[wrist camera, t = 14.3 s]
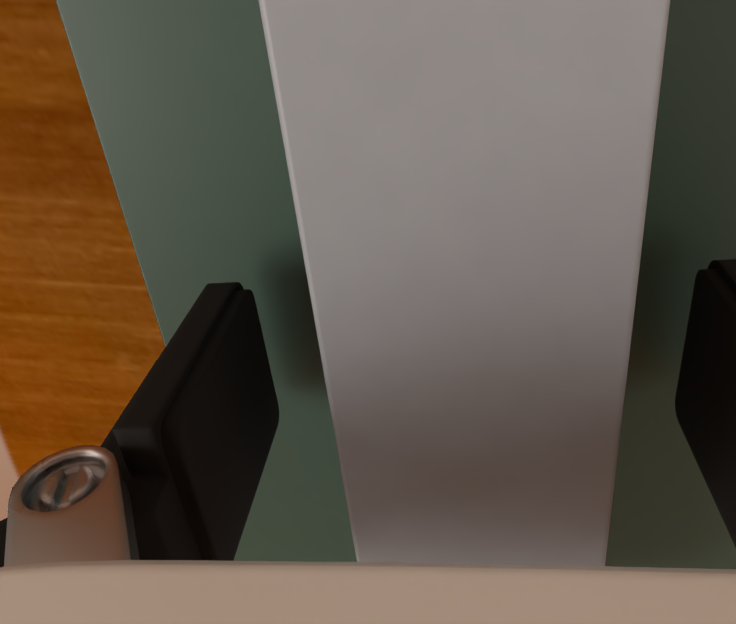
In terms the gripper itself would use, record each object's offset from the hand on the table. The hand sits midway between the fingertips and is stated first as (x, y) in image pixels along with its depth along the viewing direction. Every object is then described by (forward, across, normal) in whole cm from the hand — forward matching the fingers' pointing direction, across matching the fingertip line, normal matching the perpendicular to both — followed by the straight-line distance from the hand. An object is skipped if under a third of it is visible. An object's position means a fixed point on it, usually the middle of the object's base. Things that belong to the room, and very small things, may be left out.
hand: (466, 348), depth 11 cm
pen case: (+1, 0, 0) cm, 1 cm away
